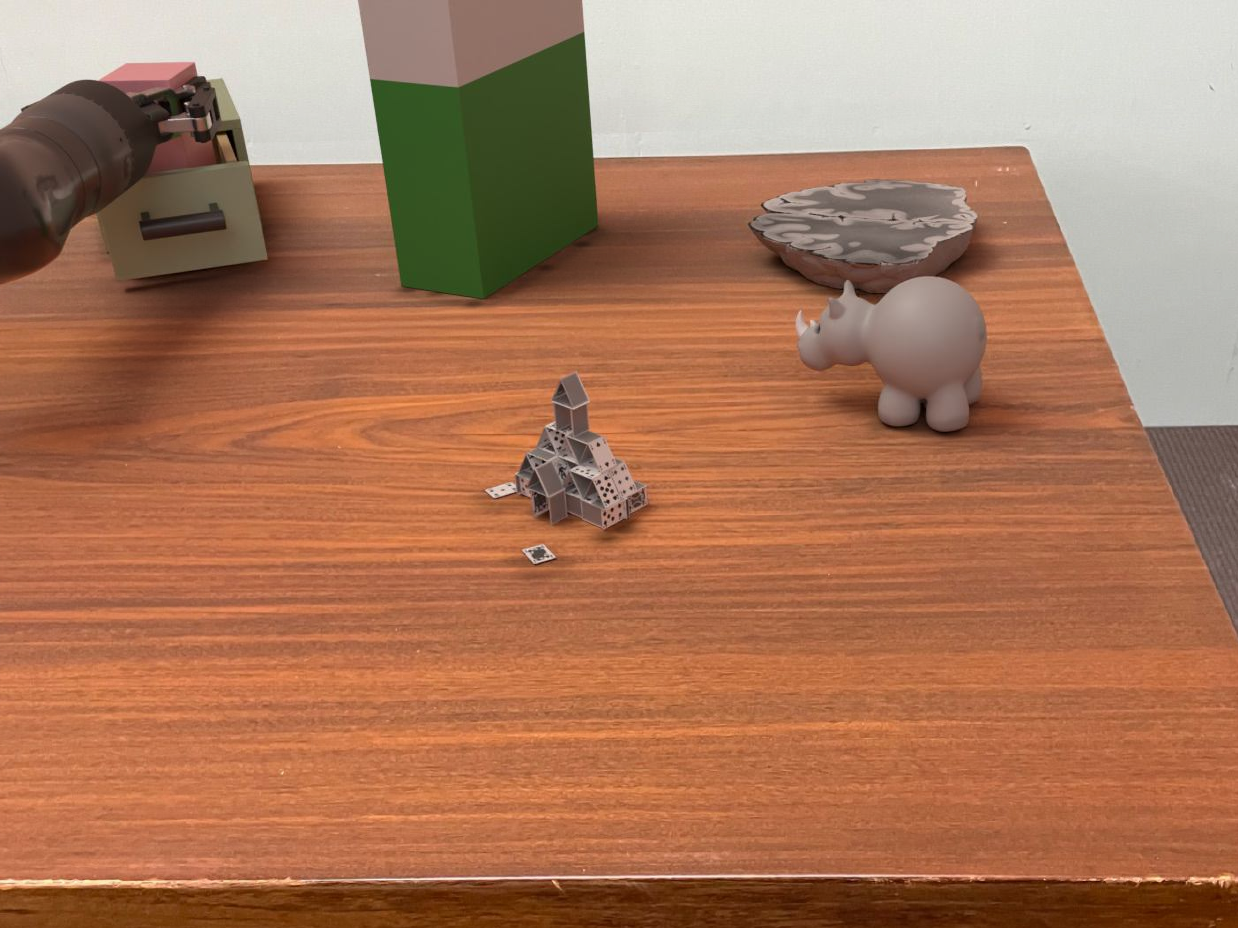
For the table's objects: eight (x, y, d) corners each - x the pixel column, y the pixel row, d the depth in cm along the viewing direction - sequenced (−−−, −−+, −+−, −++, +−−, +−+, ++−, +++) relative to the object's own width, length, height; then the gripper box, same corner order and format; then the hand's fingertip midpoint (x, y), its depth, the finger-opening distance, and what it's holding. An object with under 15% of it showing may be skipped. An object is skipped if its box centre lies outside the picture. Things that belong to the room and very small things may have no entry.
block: (124, 190, 117) (97, 80, 112) (150, 169, 121) (125, 63, 117) (193, 189, 117) (169, 79, 112) (217, 168, 121) (195, 61, 116)
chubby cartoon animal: (815, 373, 100) (817, 245, 95) (994, 398, 96) (1005, 266, 91) (776, 417, 95) (775, 285, 90) (963, 446, 91) (973, 309, 86)
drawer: (274, 276, 116) (255, 179, 112) (119, 299, 113) (92, 201, 109) (249, 209, 129) (230, 120, 125) (109, 228, 126) (86, 138, 122)
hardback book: (521, 215, 129) (489, -103, 115) (598, 225, 126) (575, -100, 112) (401, 286, 116) (348, -63, 102) (483, 298, 113) (440, -58, 99)
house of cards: (430, 516, 86) (411, 390, 81) (543, 461, 91) (530, 339, 87) (540, 567, 81) (526, 435, 76) (652, 506, 86) (645, 379, 82)
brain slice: (784, 210, 128) (784, 173, 126) (988, 221, 124) (991, 184, 122) (722, 293, 112) (721, 253, 111) (951, 310, 108) (954, 269, 107)
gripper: (165, 92, 101) (245, 36, 115) (-43, 96, 102) (62, 40, 116) (190, 206, 106) (265, 139, 119) (-9, 208, 107) (88, 141, 120)
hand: (165, 90), depth 118 cm, fingers closed on block, 5 cm apart
